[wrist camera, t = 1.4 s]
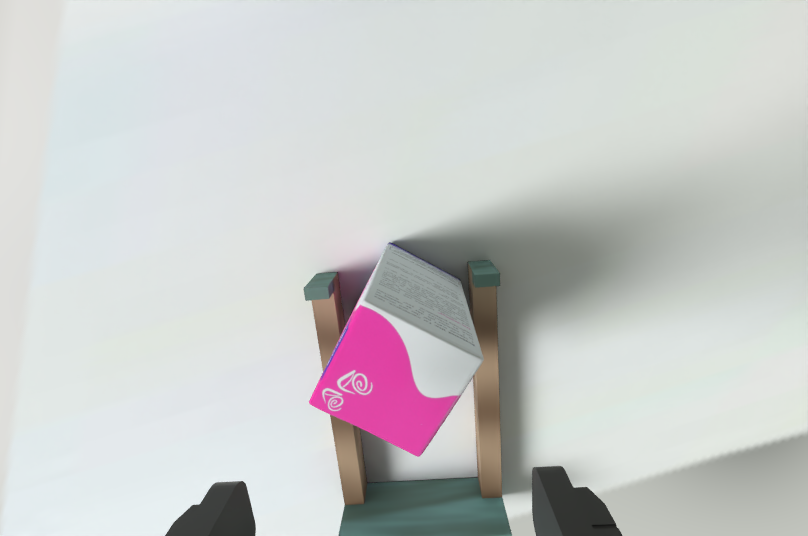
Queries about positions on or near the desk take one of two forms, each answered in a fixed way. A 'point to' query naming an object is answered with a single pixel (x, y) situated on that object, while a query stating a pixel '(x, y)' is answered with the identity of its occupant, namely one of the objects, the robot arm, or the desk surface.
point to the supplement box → (402, 353)
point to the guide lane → (425, 499)
